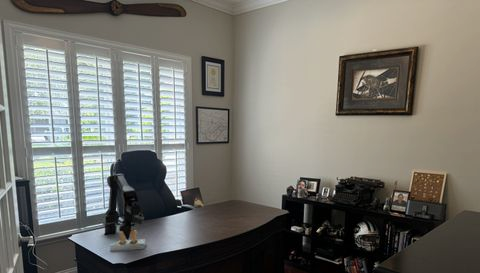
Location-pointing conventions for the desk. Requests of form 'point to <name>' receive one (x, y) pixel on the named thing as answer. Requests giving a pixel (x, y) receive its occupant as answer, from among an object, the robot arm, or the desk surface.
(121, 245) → the rail
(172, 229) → the desk surface
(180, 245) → the desk surface
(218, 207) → the desk surface
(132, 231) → the clip
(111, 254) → the desk surface
